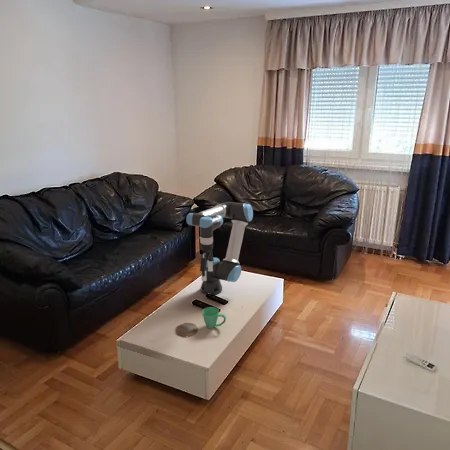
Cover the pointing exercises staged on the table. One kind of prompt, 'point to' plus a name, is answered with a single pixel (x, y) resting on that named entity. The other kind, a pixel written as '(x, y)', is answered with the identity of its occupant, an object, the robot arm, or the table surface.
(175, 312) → the table surface
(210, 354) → the table surface
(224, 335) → the table surface
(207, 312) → the mug
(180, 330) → the plate
